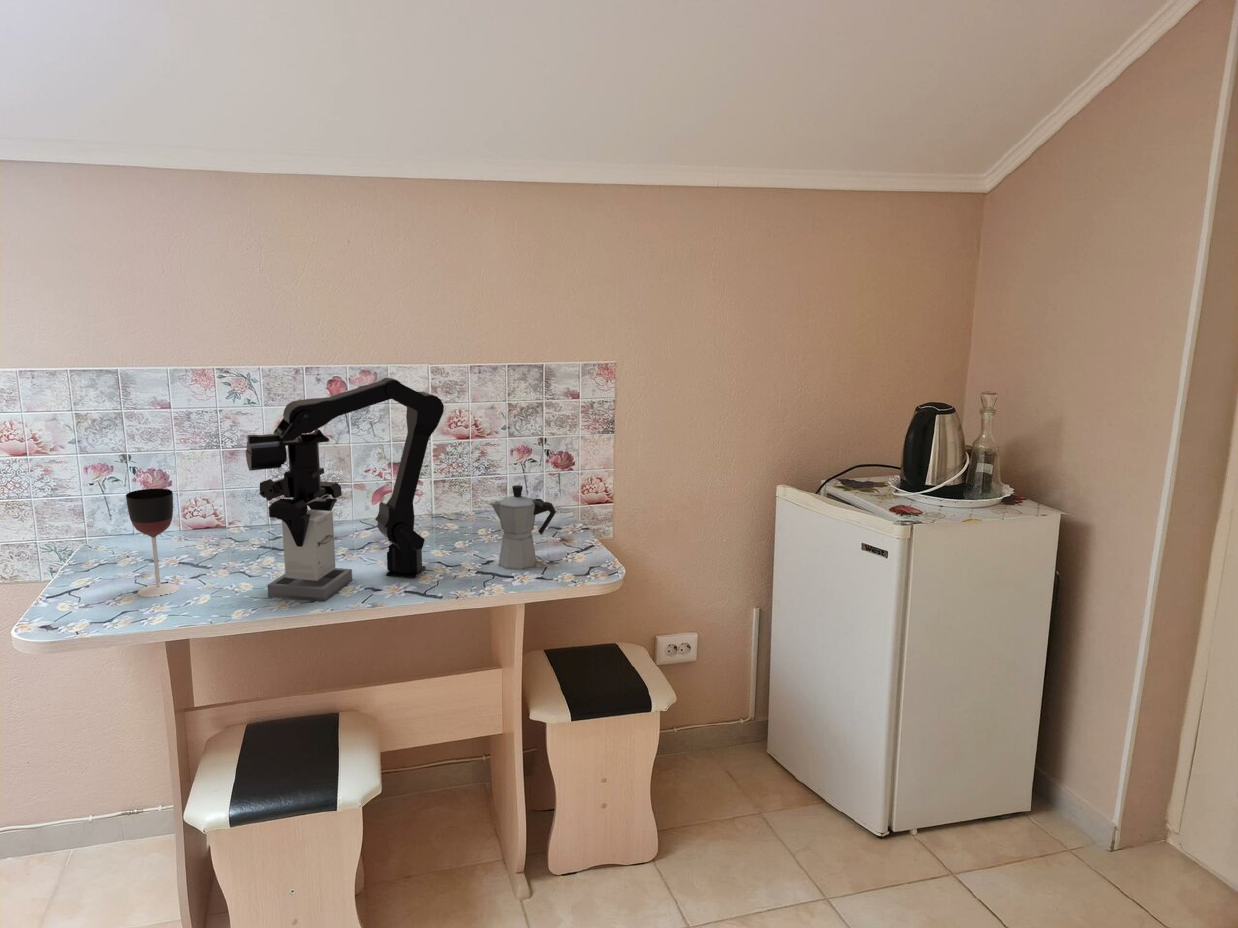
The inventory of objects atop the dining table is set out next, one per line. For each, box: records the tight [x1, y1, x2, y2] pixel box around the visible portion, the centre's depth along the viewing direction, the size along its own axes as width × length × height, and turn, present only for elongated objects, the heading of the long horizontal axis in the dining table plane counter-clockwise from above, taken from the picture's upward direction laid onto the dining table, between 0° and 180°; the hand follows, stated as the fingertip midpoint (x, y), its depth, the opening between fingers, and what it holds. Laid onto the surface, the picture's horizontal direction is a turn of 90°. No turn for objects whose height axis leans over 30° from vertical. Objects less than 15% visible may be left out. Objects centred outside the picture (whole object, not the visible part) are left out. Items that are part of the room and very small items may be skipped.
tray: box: [267, 567, 353, 602], centre depth 176 cm, size 12×12×2 cm
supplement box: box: [281, 509, 336, 581], centre depth 174 cm, size 7×7×13 cm
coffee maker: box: [488, 484, 557, 571], centre depth 192 cm, size 15×9×18 cm, turn 88°
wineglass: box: [125, 488, 181, 598], centre depth 171 cm, size 8×9×20 cm
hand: (309, 540), depth 174 cm, fingers closed on supplement box, 7 cm apart
